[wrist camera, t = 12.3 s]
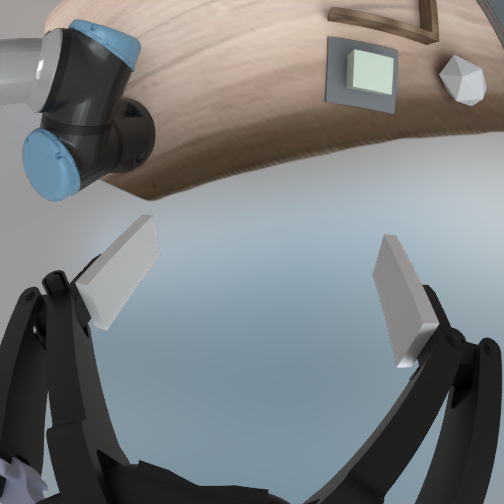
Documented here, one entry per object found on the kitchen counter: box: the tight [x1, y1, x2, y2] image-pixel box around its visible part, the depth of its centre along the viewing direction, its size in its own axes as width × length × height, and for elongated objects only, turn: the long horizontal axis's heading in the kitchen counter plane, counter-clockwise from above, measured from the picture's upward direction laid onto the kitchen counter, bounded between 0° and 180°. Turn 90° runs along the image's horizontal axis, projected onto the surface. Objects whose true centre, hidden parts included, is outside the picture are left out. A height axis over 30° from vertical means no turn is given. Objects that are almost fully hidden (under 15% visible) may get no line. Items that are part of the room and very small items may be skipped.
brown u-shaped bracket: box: [328, 0, 439, 45], centre depth 25 cm, size 18×11×5 cm, turn 89°
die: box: [439, 55, 487, 106], centre depth 27 cm, size 8×9×10 cm
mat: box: [326, 36, 398, 114], centre depth 35 cm, size 12×12×1 cm
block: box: [346, 49, 393, 95], centre depth 32 cm, size 6×6×6 cm
